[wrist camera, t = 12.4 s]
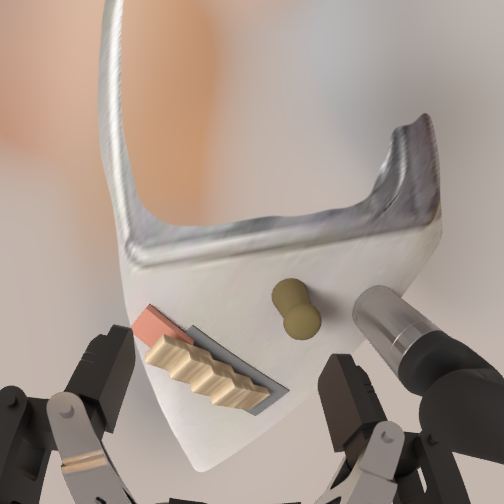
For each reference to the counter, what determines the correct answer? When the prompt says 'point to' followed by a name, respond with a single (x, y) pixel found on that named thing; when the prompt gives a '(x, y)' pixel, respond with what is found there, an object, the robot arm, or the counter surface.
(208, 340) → the mat
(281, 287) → the cork
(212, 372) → the domino
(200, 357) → the domino
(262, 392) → the domino
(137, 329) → the domino
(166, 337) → the domino
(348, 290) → the counter surface
